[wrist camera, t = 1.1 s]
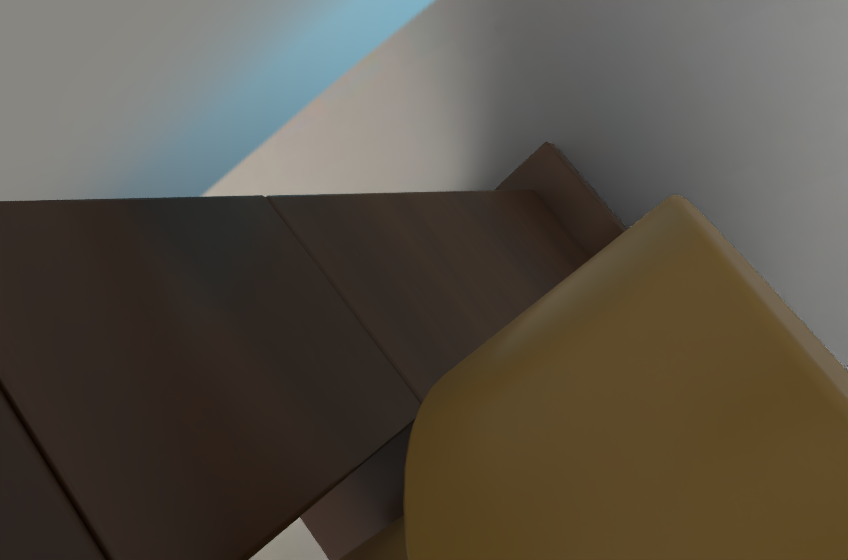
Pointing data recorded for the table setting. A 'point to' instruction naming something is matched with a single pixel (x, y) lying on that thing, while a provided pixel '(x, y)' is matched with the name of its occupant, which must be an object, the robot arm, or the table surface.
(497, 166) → the table surface
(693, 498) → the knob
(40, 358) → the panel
